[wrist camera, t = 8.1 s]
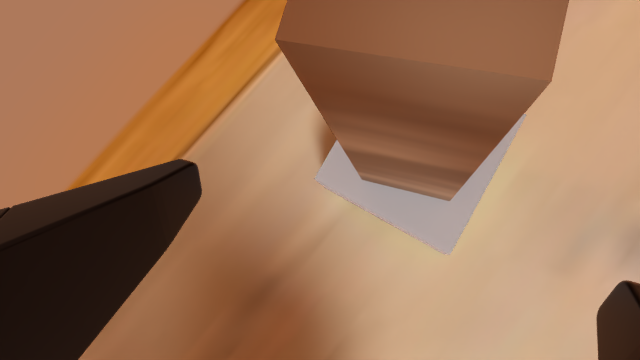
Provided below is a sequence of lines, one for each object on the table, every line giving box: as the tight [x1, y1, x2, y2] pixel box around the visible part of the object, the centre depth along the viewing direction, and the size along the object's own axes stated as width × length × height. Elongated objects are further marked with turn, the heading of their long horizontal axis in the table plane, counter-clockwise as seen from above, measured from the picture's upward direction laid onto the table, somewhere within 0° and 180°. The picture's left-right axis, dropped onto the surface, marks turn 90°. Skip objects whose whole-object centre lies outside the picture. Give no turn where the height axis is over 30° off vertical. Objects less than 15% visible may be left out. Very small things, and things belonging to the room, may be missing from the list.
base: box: [314, 114, 526, 255], centre depth 18 cm, size 7×7×2 cm
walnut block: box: [275, 0, 569, 201], centre depth 11 cm, size 4×4×12 cm
